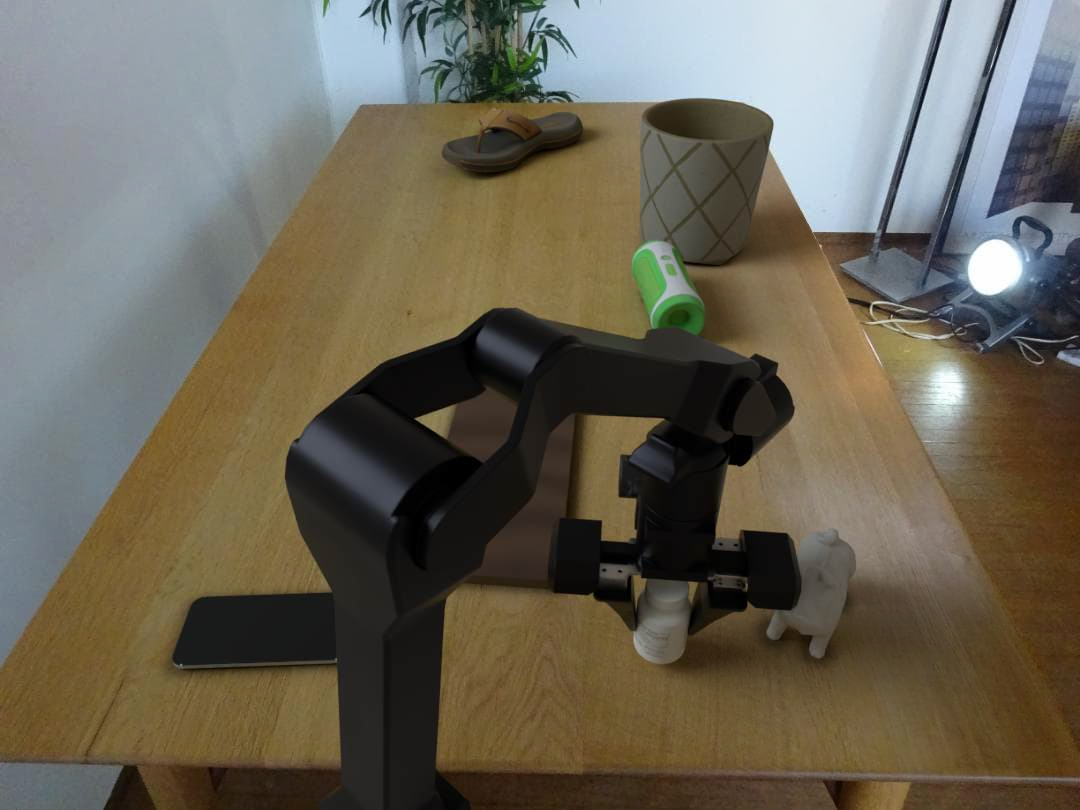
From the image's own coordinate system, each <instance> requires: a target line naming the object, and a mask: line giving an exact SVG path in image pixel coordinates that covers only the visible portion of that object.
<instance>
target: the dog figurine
mask: <svg viewBox="0 0 1080 810" xmlns="http://www.w3.org/2000/svg"><path fill="white" fill-rule="evenodd" d="M796 555H797V560H798V565H799V570H800V574H801V579H802V586H801V594H800V598H799V601H798V604H797V606H796V607H795V608H793V609H792V610H791V611H785V610H775V612H774V614H773V616H772V618H771V620H770V623H769V625H768V627H767V629H766V636H767V637H768V638H769V639H770V640H772V641H778V640H779V639H781V637H782V635H783V633H784V632H785V631H786V630H787V628H788V626H790V627H792V628H793V629H795V630H797V631H798V632H799V634H800V635H804V636H807V635H809V636H812V639H811V641H810V644H809V649H808V651H809V655H810V656H812V657H813V658H816V659H821V658H823V657H824V656H825V652H826V649H827V647H828V644H829V642H830V641H829V640H830V639H831V637H832V636H833V633H834V632H835V629H836V628H837V625H838V623H839V621H840V619H841V617H842V613H843V609H844V607H845V603H846V600H847V592H848V589H849V585H850V582H851V579H852V578H853V577H854V575H855V573H856V571H857V570H856V568H857V556H856V553H855V550H854V548H852V546H851V545H850V544H849V543H848V542H846V540H843V539H841V538H840V535H839V530H837V529H836V528H830V529H827V530H826V531H823V532H822V531H817V532H810V533H809V534H807V535H806V536H804V537H803V539H802V540H801V541H800V544H799V546H798V550H797V552H796Z"/></svg>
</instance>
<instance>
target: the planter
mask: <svg viewBox="0 0 1080 810" xmlns="http://www.w3.org/2000/svg"><path fill="white" fill-rule="evenodd" d="M774 126H775V123H774V119H773V118H772V117H771V116H770V115H769V114H768V113H767V112H765V111H764V110H761V109H760V108H758V107H755V106H753V105H749V104H746V103H743V102H738V101H734V100H729V99H720V98H710V97H709V98H707V97H687V98H677V99H671V100H665V101H661V102H658V103H656V104H653V105H651V106H649V107H648V108H646V109H645V110H644V111H643V112H642V114H641V117H640V149H639V151H640V153H639V154H640V156H639V158H640V159H639V160H640V161H639V165H640V166H639V177H640V178H639V238H640V240H641V242H642V244H644V243H646V242H648V241H651V240H662V241H665V242H667V243H669V244H671V245H672V246H674V247H675V248H676V249H677V250H678V252H679V253H680V255H681V258H682V262H683V263H684V262H686V263H693V264H702V265H703V264H705V265H715V266H722V265H725V263H726V262H727V261H729V259H730V258H732V257H734V256H735V255H737V254H738V253H740V252H741V251H743V249H745V247H746V245H747V241H748V238H749V234H750V229H751V225H752V221H753V216H754V212H755V209H756V204H757V199H758V195H759V192H760V188H761V183H762V178H763V175H764V170H765V167H766V162H767V157H768V155H769V154H768V153H769V149H770V144H771V141H772V136H773V131H774Z"/></svg>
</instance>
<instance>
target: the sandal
mask: <svg viewBox="0 0 1080 810" xmlns="http://www.w3.org/2000/svg"><path fill="white" fill-rule="evenodd" d="M478 122H479V124H480V127H479V132H478V134H475V135H469V136H464V137H460V138H459V137H458V138H457V139H453V140H450V141H447V142H445V143H444V144H443V146H442V149H441V156H442V158H443V159H444V160H445V161H446V162H447V163H449V164H451V165H453V166H456V167H457V168H460V169H463V170H466V171H470V172H476V173H498V172H503V171H507V170H511V169H514V168H516V167H517V166H518V165H520V164H521V162H522V161H524V160H525V158H527V157H528V156H530V155H531V154H534V153H535V152H538V151H542V150H545V149H546V150H550V149H558V148H563V147H566V146H568V145H571V144H572V143H574V142H576V141H577V140H580V139H581V137H582V135H583V133H584V126H583V123H582V119H581V118H580V117H579V116H578V115H577V114H575V113H573V112H569V111H558V112H553V113H551V114H548V115H545V116H541V117H538V118H537V117H536V118H530V119H529V118H527V117H526V116H524V115H522V114H519V113H516V112H513V111H509V110H504V109H500V108H498V107H496V106H495V107H493V108H492V109H490V110H489V111H488V110H485V114H483V115H481V116H480V117H478Z"/></svg>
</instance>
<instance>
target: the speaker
mask: <svg viewBox="0 0 1080 810" xmlns="http://www.w3.org/2000/svg"><path fill="white" fill-rule="evenodd" d="M631 273H632V277H633V279H634V281H635V282H636V284H637V287H638V290H639V292H640V296H641V297H642V301H643V303H644V306H645V308H646V311H647V314H648V317H649V322H650V326H651V329H656V328H666V327H679V328H681V329H683V330H685V331H688V332H690V333H692V334H695V335H697V336H699V335H700V333H701V332H702V331H703V329H704V327H705V325H706V307H705V303H704V301H703V299H702V298H701V297H700V295H699V293H698V291H697V289H696V286H695V285H694V283H693V280H692V278H691V277H690V275H689V272H688V270H687V268H686V266H685V264H684V261H682V258H681V255H680V253H679V252H678V250H677V249H676V248H675V247H674V246H672V245H671V244H669V243H667V242H665V241H662V240H651V241H648V242H646V243H644V244H643V243H642V244H641V245H640V246H639V247H638V248H637V249H636V251H635V252H634V254H633V256H632V260H631Z"/></svg>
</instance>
